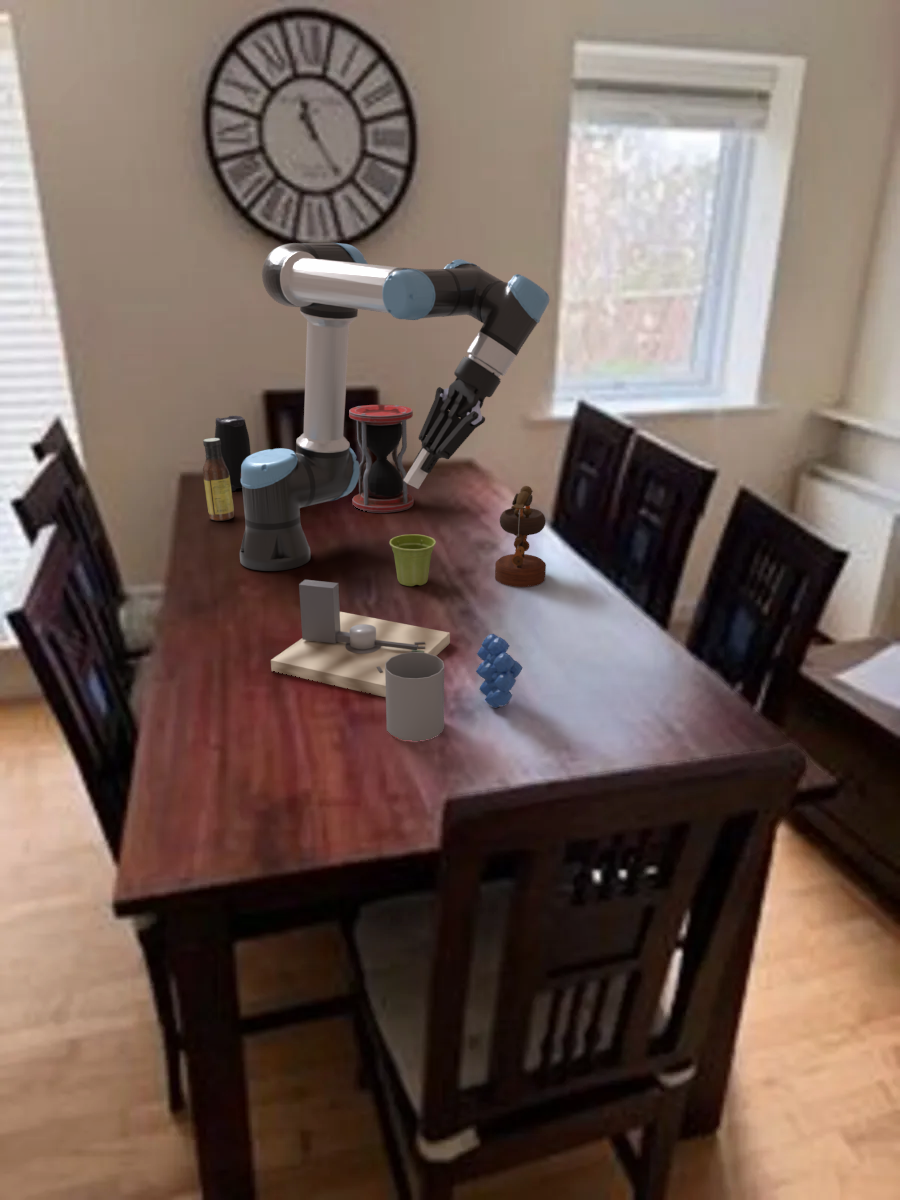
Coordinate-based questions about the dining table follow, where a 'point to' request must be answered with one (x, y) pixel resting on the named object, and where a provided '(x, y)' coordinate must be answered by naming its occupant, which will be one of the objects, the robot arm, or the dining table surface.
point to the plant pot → (412, 558)
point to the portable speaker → (233, 446)
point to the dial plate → (356, 655)
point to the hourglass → (382, 458)
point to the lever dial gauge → (334, 619)
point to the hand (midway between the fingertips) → (410, 484)
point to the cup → (414, 696)
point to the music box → (521, 543)
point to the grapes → (497, 671)
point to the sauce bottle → (217, 482)
